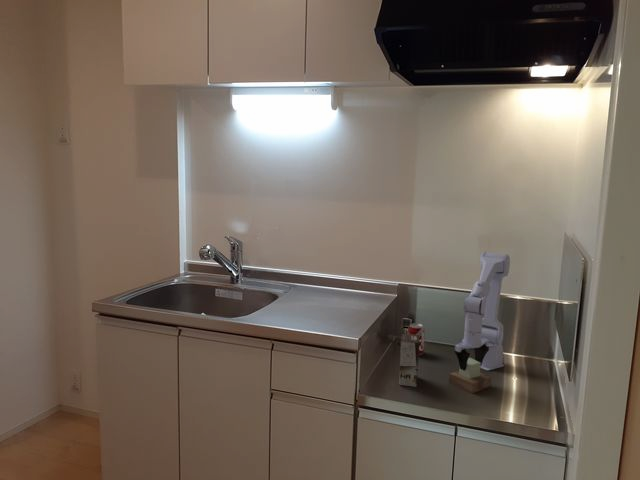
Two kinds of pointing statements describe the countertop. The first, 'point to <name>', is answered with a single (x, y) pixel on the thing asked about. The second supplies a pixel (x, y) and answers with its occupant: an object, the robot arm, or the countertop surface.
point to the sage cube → (471, 369)
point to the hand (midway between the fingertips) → (470, 367)
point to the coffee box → (409, 360)
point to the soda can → (420, 331)
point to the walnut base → (469, 382)
